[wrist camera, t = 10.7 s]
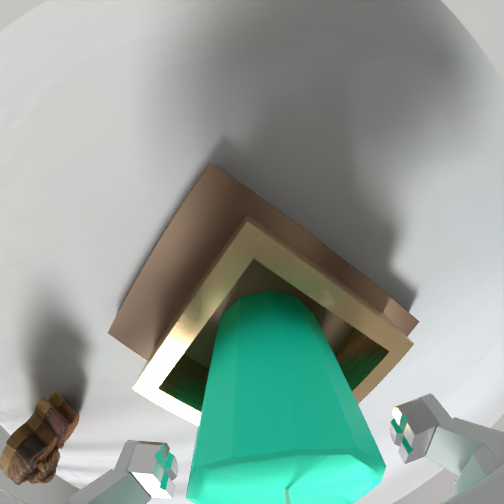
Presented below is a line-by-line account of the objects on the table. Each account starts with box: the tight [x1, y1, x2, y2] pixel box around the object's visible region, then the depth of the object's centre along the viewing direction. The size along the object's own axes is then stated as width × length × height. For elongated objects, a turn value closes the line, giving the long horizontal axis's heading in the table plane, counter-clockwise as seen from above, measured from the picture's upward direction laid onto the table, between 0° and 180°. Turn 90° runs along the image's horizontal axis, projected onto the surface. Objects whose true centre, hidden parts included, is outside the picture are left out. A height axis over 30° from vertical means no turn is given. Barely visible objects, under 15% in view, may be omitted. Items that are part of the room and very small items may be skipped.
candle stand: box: [108, 163, 419, 426], centre depth 15 cm, size 16×12×6 cm
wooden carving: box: [0, 391, 79, 485], centre depth 15 cm, size 16×5×10 cm, turn 145°
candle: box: [186, 290, 386, 504], centre depth 10 cm, size 6×6×12 cm
